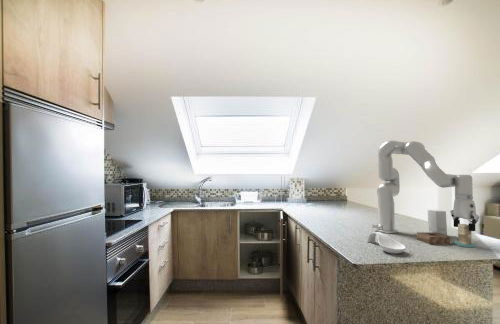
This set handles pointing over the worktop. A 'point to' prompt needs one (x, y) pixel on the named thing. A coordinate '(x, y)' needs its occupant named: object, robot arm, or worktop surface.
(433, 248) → the worktop surface
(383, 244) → the spoon rest
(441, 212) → the skincare box
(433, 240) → the walnut socket block
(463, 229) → the maple peg
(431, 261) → the worktop surface
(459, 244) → the teal rubber pad
